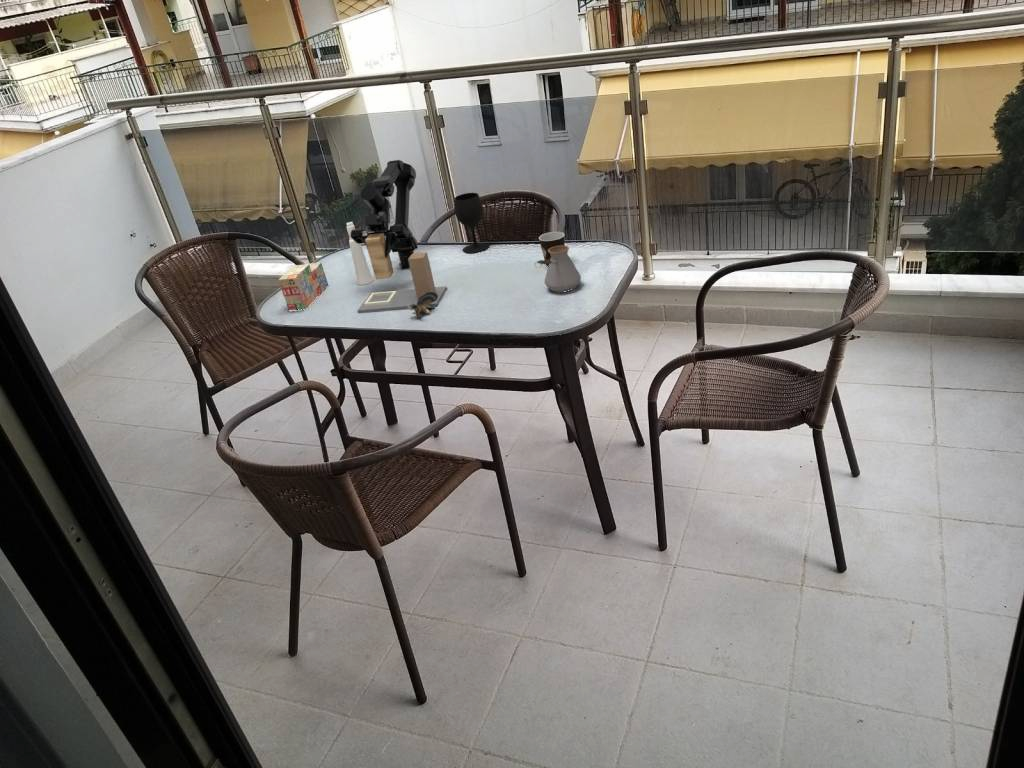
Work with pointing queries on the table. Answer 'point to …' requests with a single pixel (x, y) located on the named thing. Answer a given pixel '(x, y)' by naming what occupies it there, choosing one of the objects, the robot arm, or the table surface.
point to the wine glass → (470, 218)
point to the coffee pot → (560, 270)
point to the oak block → (379, 256)
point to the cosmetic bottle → (359, 259)
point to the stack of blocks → (303, 285)
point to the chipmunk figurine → (423, 303)
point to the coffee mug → (550, 242)
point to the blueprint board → (405, 297)
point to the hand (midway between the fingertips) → (378, 257)
